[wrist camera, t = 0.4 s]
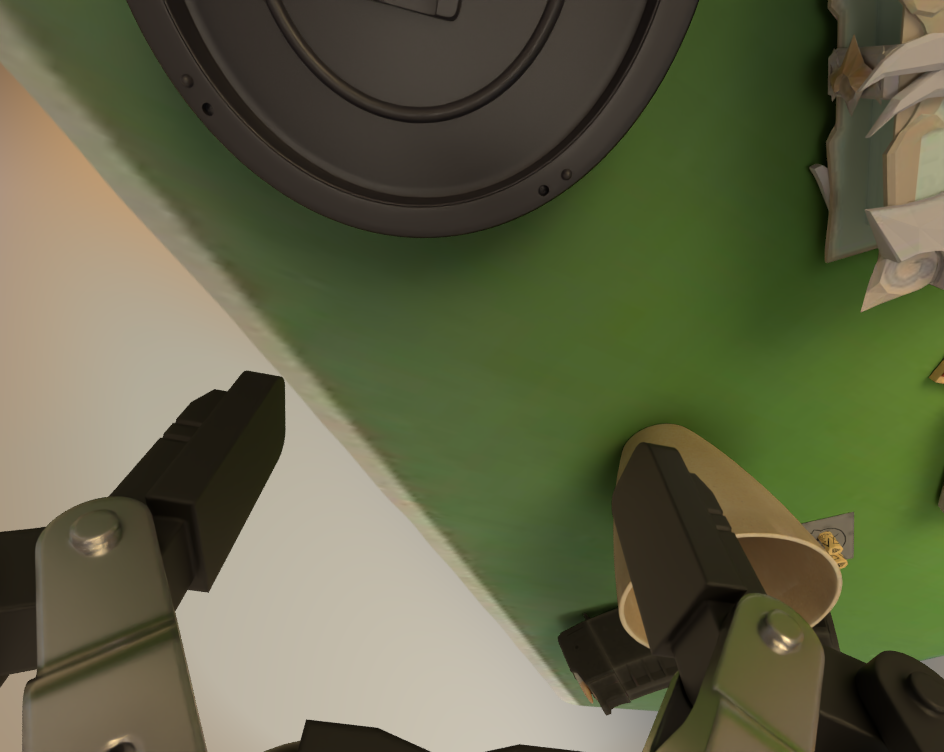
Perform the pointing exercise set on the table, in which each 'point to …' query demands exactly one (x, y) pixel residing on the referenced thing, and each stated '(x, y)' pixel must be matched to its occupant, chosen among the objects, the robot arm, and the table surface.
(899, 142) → the ornate book
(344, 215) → the round tray
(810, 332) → the table surface
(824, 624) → the magazine
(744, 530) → the plant pot
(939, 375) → the maple ruler
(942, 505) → the handheld gaming console
